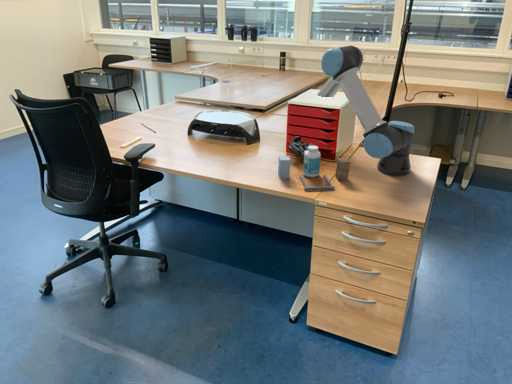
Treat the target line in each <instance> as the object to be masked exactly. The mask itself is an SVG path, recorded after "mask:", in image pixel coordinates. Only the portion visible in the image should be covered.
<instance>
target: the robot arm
mask: <svg viewBox="0 0 512 384" xmlns="http://www.w3.org/2000/svg"><path fill="white" fill-rule="evenodd" d="M363 62H364V55H363V53H362V51H361V49H360V48H359V47H357V46H354V45H345V46H339V47H337V46H336V47H335V46H334V47H333V48H329V49H327V50H326V51H324V53H323V55H322V57H321V61H320V63H321V64H320V65H321V70H322V72H323V73H324V74H325V75H326V76H328V77H329V78H328V79H327V81H326V82H325V84H324V85H323V86H322V87H321V88H320V90H319V91H318V92H317V93H316V95H318V96H321V97H333V98H334V97H335V95H336V94H337V93H338V92H339V91H340V90H341V89H342V91H343V93H344V95H345V96H346V99H347V100H348V102H349V104H350V106H351V108H352V110H353V111H354V114H355V116H356V117H357V119H358V121H359V123H360V125H361V127H362V129H363V134H362V136H363V138H364V141H363V148H364V151H365V152H366V153H367V154H368V155H369V156H370V157H371V158H373V159H374V158H375V159H377V160H378V159H379V160H378V162H377V166H376V169H377V170H378V171H380V172H381V173H382V174H386V175H390V176H398V177H401V176H406V175H409V174H410V173H411V168H412V167H411V166H412V165H411V161H410V154H411V153H410V152H411V147H412V143H413V139H414V134H415V126H414V125H413V124H411V123H408V122H406V121H399V120H391V121H389V122H388V121H386V120H382V118H381V116H380V114H379V112H378V110H377V108H376V106H375V104H374V103H373V101H372V99H371V97H370V96H369V94H368V91H367V90H366V88H365V86H364V85H363V83H362V81H361V79H360V76H359V75H358V71H359V70H360V69H361V67H362V65H363ZM300 140H301V137H300V136H295V137H294V138H293V139H292V143H289V144H288V149H289V150H291V151H293V153H295V154H296V155H297V156H301V158H304V153H305V152H306V151H307V150H308V146H311V145H313V146H315V143H314V144H312V143H310V142H308V143H306V142H305V141H303V142H301V141H300Z"/></svg>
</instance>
